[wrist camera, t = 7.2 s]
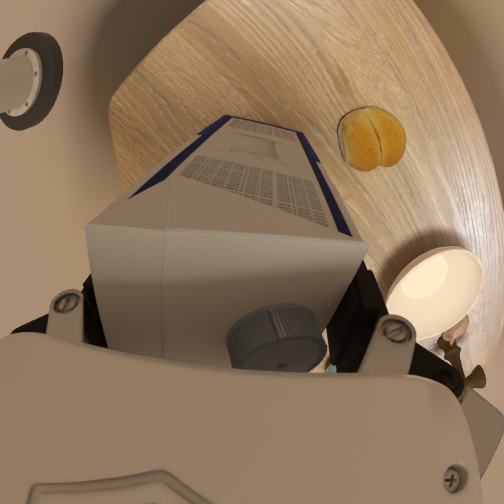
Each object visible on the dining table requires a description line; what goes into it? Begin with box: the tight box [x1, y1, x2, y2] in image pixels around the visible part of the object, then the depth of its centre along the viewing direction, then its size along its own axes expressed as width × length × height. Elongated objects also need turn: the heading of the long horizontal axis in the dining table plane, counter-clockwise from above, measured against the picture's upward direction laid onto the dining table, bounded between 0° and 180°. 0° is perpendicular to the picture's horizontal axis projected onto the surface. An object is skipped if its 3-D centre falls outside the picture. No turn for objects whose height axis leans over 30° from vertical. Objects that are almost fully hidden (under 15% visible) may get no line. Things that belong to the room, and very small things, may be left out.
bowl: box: [385, 246, 484, 340], centre depth 41 cm, size 20×20×7 cm
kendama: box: [438, 337, 486, 389], centre depth 44 cm, size 6×10×20 cm, turn 119°
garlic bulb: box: [441, 314, 469, 345], centre depth 45 cm, size 7×6×8 cm
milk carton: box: [85, 115, 369, 373], centre depth 16 cm, size 7×7×20 cm
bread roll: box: [338, 107, 406, 171], centre depth 31 cm, size 8×9×4 cm
